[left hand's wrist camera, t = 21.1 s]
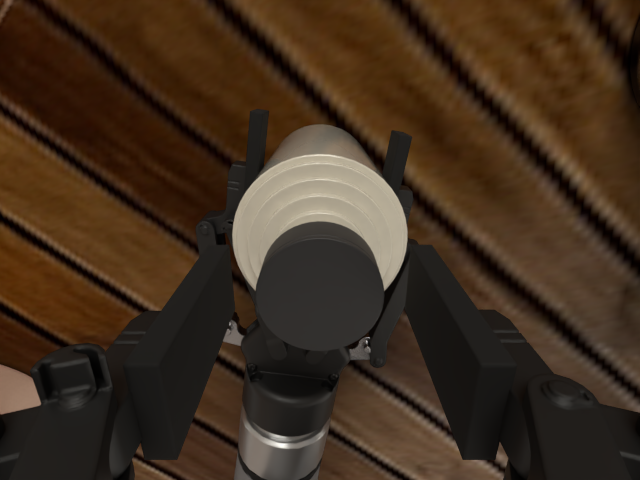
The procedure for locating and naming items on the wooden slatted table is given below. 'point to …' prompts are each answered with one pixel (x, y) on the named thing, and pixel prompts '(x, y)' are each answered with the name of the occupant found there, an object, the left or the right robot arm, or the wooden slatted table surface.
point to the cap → (319, 287)
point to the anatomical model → (16, 391)
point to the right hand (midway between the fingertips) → (331, 122)
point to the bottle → (319, 199)
